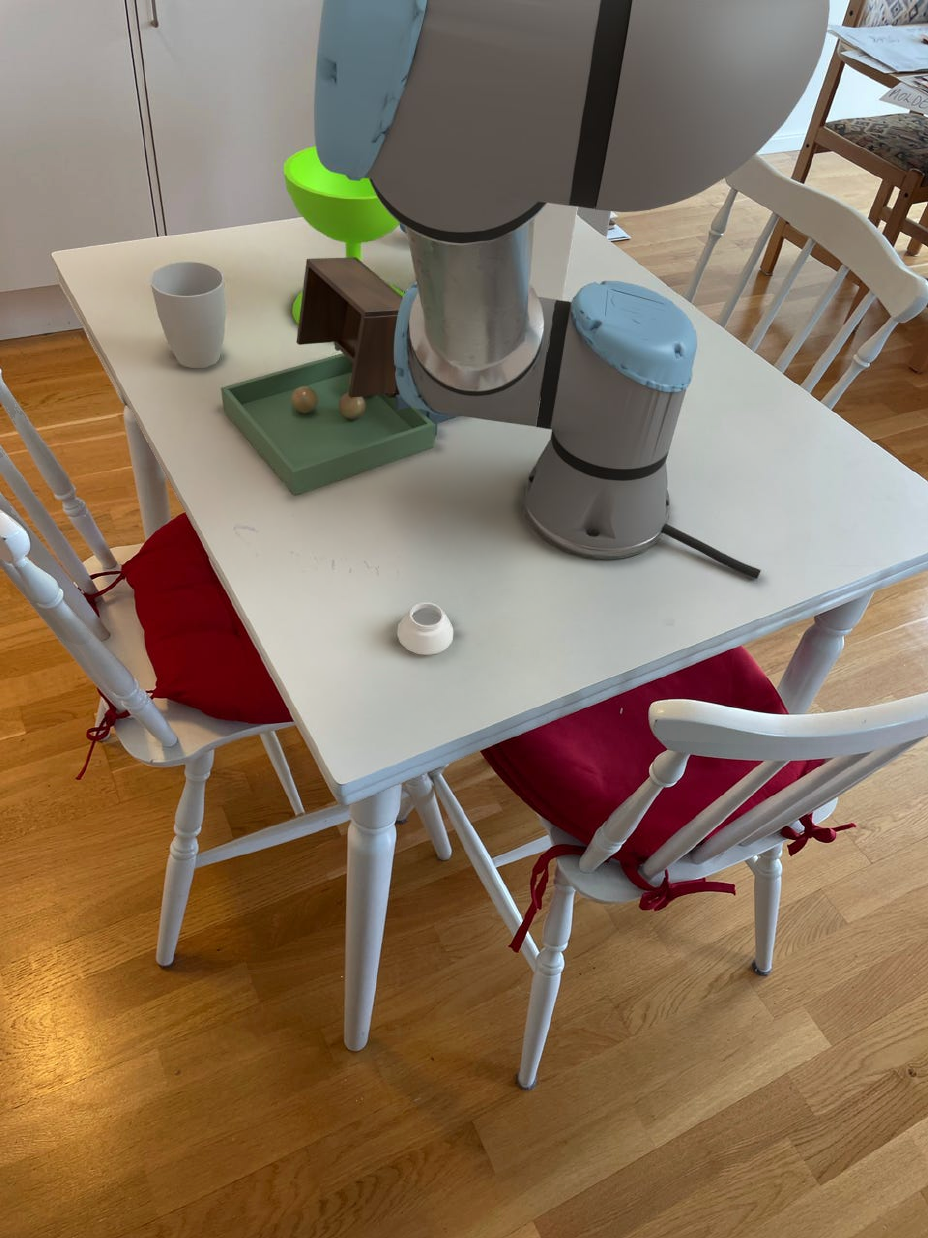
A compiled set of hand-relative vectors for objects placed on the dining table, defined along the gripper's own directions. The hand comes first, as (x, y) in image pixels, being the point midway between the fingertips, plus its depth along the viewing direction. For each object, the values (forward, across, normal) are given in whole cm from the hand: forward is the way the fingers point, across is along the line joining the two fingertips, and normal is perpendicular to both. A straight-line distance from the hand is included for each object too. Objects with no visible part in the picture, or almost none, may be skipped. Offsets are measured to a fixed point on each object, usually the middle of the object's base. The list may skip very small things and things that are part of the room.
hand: (518, 161), depth 96 cm
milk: (+27, -14, -10) cm, 32 cm away
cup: (+27, +28, -22) cm, 44 cm away
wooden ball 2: (+24, +18, -2) cm, 31 cm away
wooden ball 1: (+24, +22, -6) cm, 34 cm away
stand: (+26, +12, -2) cm, 29 cm away
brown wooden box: (+16, +15, -2) cm, 22 cm away
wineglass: (+27, +6, -23) cm, 36 cm away
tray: (+26, +21, -2) cm, 34 cm away
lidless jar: (+27, +29, +30) cm, 49 cm away
